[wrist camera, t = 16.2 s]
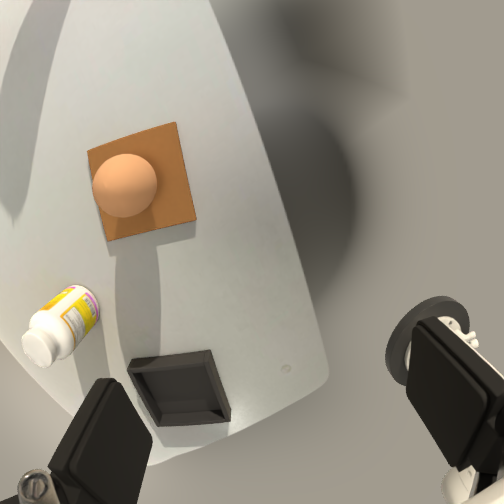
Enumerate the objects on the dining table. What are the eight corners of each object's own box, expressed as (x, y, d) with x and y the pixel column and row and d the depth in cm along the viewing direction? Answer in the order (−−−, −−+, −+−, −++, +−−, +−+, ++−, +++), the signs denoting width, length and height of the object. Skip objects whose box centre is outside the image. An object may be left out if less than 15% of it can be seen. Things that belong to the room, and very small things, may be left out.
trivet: (175, 122, 32) (174, 121, 31) (196, 219, 35) (196, 220, 35) (89, 150, 32) (86, 150, 32) (109, 240, 35) (107, 241, 35)
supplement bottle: (60, 311, 38) (14, 355, 26) (68, 275, 36) (15, 314, 24) (96, 332, 39) (56, 384, 27) (106, 297, 37) (61, 345, 25)
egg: (107, 201, 34) (70, 212, 25) (122, 149, 32) (87, 144, 23) (155, 218, 34) (128, 234, 26) (172, 164, 33) (149, 163, 24)
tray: (210, 349, 40) (208, 361, 37) (231, 409, 43) (230, 421, 40) (131, 358, 40) (126, 369, 37) (160, 415, 43) (157, 426, 41)
